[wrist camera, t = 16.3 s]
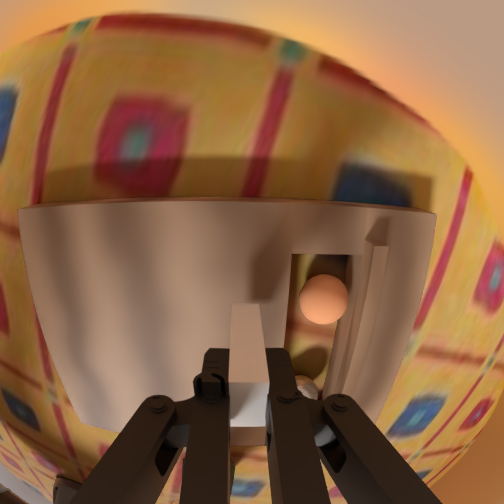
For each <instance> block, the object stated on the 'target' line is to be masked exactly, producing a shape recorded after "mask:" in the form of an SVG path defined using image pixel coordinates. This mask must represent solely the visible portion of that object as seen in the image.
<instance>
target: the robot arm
mask: <svg viewBox="0 0 504 504" xmlns="http://www.w3.org/2000/svg"><path fill="white" fill-rule="evenodd" d="M193 387H194V396H193V397H191V398H189V399H186V400H182V401H176V402H174V401H173V400H172V399H171V398H170V397H168V396H165V395H152V396H150V397H148V398H146V399H145V400H144V401H143V402H142V403H141V405H140V406H139V408H138V409H137V410H136V412H135V413H134V414H133V416H132V417H131V419H130V420H129V421H128V423H127V424H126V425H125V427H124V428H123V430H122V431H121V432H120V434H119V435H118V436H117V438H116V439H115V440H114V442H113V443H112V445H111V446H110V447H109V449H108V450H107V451H106V453H105V454H104V456H103V457H102V458H101V460H100V461H99V462H98V464H97V465H96V467H95V468H94V469H93V471H92V472H91V473H90V475H89V476H88V477H87V479H86V480H85V482H84V483H83V484H82V485H81V484H79V483H76V482H74V481H71V480H68V479H65V478H56V480H55V483H54V485H53V504H155V503H156V501H157V499H158V497H159V495H160V493H161V491H162V490H163V488H164V486H165V484H166V482H167V480H168V478H169V476H170V474H171V472H172V470H173V468H174V466H175V464H176V462H177V460H178V458H179V456H180V454H181V452H182V450H183V447H187V449H186V456H185V463H184V470H183V478H182V485H181V493H180V501H179V504H230V427H260V426H265V423H266V437H265V445H264V446H267V456H268V467H269V477H270V487H271V497H272V504H331V502H330V498H329V494H328V490H327V486H326V482H325V478H324V474H323V470H322V466H321V462H320V459H321V461H322V463H323V464H324V466H325V468H326V469H327V471H328V473H329V474H330V476H331V477H332V479H333V481H334V482H335V484H336V486H337V487H338V489H339V490H340V492H341V494H342V495H343V497H344V498H345V500H346V501H347V503H348V504H442V503H441V502H440V500H439V499H438V498H437V497H436V496H435V495H434V494H433V492H432V491H431V490H430V489H429V488H428V487H427V485H426V484H425V483H424V482H423V481H422V480H421V478H420V477H419V476H418V475H417V474H416V473H415V471H414V470H413V469H412V468H411V467H410V466H409V464H408V463H407V462H406V461H405V460H404V459H403V457H402V456H401V455H400V454H399V453H398V452H397V450H396V449H395V448H394V447H393V446H392V444H391V443H390V442H389V441H388V440H387V439H386V437H385V436H384V435H383V434H382V433H381V431H380V430H379V429H378V428H377V427H376V425H375V424H374V423H373V422H372V421H371V419H370V418H369V417H368V416H367V415H366V413H365V412H364V411H363V410H362V409H361V407H360V406H359V405H358V404H357V403H356V401H355V400H354V399H353V398H351V397H350V396H348V395H345V394H339V393H337V394H332V395H330V396H328V397H327V398H326V399H325V400H324V401H322V400H315V399H311V398H308V397H306V396H304V395H303V394H302V392H301V391H300V390H298V388H297V384H296V380H295V376H294V372H293V368H292V364H291V360H290V356H289V353H288V352H287V351H286V350H285V349H284V348H265V345H264V338H263V331H262V324H261V316H260V309H259V304H234V303H232V314H231V334H230V348H209V349H208V350H207V352H206V353H205V354H204V360H203V366H202V372H201V373H200V374H198V375H197V376H195V378H194V380H193ZM0 504H28V503H27V502H25V501H24V500H23V499H21V498H20V497H18V496H17V495H16V494H14V493H13V492H12V491H11V490H10V489H8V488H6V487H5V486H3V485H2V484H1V483H0Z"/></svg>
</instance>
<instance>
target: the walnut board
mask: <svg viewBox="0 0 504 504" xmlns="http://www.w3.org/2000/svg"><path fill="white" fill-rule="evenodd" d="M436 219H437V214H435V213H432V212H428V211H425V210H422V209H419V208H410V207H401V206H390V205H380V204H368V203H356V202H342V201H326V200H309V199H288V198H259V197H146V198H118V199H98V200H82V201H67V202H55V203H43V204H35V205H31V206H28V207H24V208H21V209H18V220H19V229H20V236H21V243H22V250H23V256H24V261H25V266H26V271H27V276H28V281H29V285H30V289H31V294H32V298H33V301H34V305H35V309H36V312H37V316H38V319H39V322H40V326H41V329H42V332H43V335H44V338H45V341H46V344H47V347H48V349H49V352H50V355H51V357H52V360H53V363H54V365H55V368H56V370H57V373H58V375H59V377H60V380H61V382H62V384H63V386H64V389H65V391H66V393H67V395H68V397H69V399H70V401H71V403H72V406H73V408H74V409H75V411H76V413H77V415H78V417H79V419H80V421H81V423H83V424H86V425H90V426H94V427H98V428H102V429H106V430H110V431H114V432H119V433H120V432H121V431H122V430H123V428H124V427H125V425H126V424H127V423H128V421H129V420H130V419H131V417H132V416H133V414H134V413H135V412H136V410H137V409H138V408H139V406H140V405H141V403H142V402H143V401H144V400H145V399H146V398H148V397H150V396H152V395H165V396H168V397H170V398H171V399H172V400H173V401H174V402H176V401H182V400H186V399H189V398H191V397H193V396H194V387H193V380H194V378H195V376H197V375H198V374H200V373H201V372H202V366H203V360H204V354H205V353H206V352H207V350H208V349H209V348H230V334H231V314H232V303H234V304H259V309H260V316H261V324H262V331H263V338H264V345H265V348H284V339H285V329H286V318H287V307H288V296H289V284H290V271H291V258H292V254H345V255H348V258H347V265H346V273H345V279H344V285H345V287H346V289H347V292H348V297H349V300H348V306H347V309H346V311H345V313H344V314H343V315H342V316H341V317H340V318H339V319H338V322H337V327H336V333H335V338H334V343H333V347H332V352H331V357H330V362H329V366H328V370H327V375H326V379H325V383H324V387H323V391H322V395H321V399H320V400H322V401H324V400H325V399H326V398H327V397H328V396H330V395H332V394H337V393H339V394H345V395H348V396H350V397H351V398H353V399H354V400H355V401H356V403H357V404H358V405H359V406H360V407H361V409H362V410H363V411H364V412H365V413H366V415H367V416H368V417H369V418H370V419H371V421H372V422H373V423H374V424H376V422H377V420H378V417H379V415H380V413H381V411H382V409H383V407H384V404H385V402H386V400H387V398H388V395H389V393H390V391H391V388H392V386H393V383H394V381H395V378H396V376H397V373H398V370H399V368H400V365H401V362H402V360H403V357H404V354H405V351H406V348H407V345H408V342H409V339H410V336H411V333H412V330H413V326H414V323H415V319H416V316H417V312H418V309H419V305H420V301H421V297H422V293H423V289H424V285H425V281H426V276H427V272H428V267H429V262H430V257H431V251H432V245H433V239H434V233H435V226H436ZM265 437H266V423H265V426H260V427H230V446H264V445H265Z"/></svg>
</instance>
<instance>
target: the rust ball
mask: <svg viewBox="0 0 504 504" xmlns="http://www.w3.org/2000/svg"><path fill="white" fill-rule="evenodd" d="M348 300H349V297H348V292H347V289H346V287H345V285H344V284H343V283H342V282H341V281H340V280H339V279H338V278H336V277H334V276H332V275H327V274H322V275H317V276H314V277H312V278H311V279H309V280H308V281H307V282H306V283H305V284H304V285H303V287H302V289H301V291H300V295H299V304H300V308H301V311H302V312H303V314H304V315H305V316H306V318H308V319H309V320H310V321H312V322H314V323H317V324H329V323H333V322H335V321H336V320H338V319H339V318H340V317H341V316H342V315H343V314H344V313H345V311H346V309H347V306H348Z"/></svg>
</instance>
